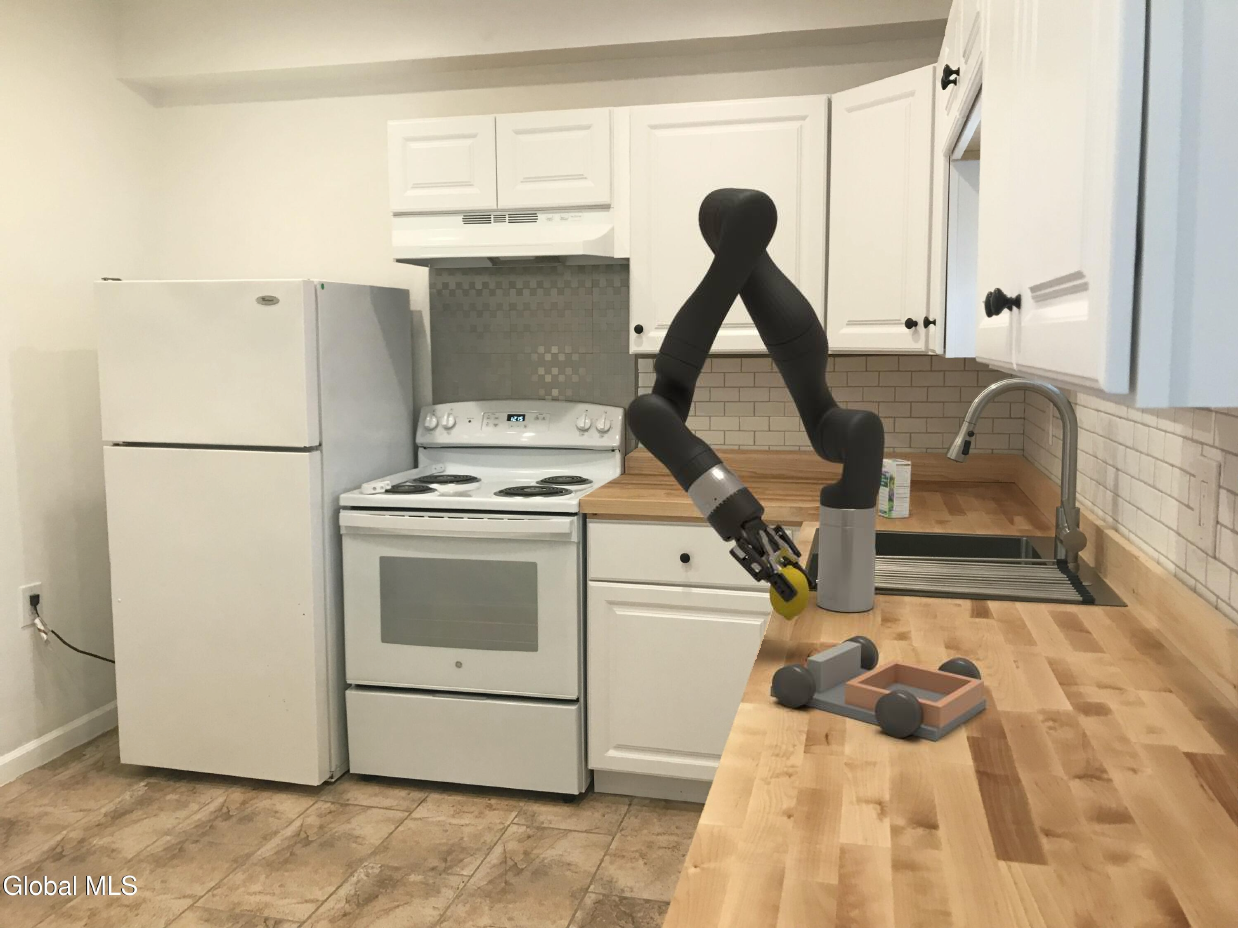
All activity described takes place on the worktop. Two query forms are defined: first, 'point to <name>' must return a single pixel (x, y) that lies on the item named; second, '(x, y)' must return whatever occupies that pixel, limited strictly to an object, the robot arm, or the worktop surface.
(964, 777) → the worktop surface
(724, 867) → the worktop surface
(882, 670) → the chassis
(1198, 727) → the worktop surface
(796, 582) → the lemon
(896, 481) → the syrup box
